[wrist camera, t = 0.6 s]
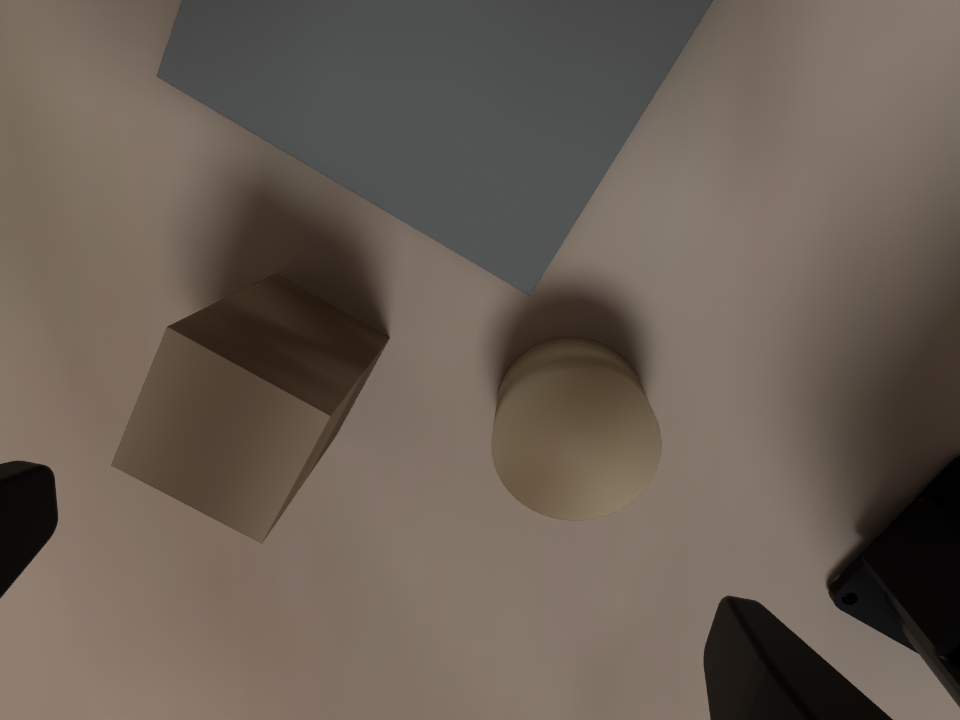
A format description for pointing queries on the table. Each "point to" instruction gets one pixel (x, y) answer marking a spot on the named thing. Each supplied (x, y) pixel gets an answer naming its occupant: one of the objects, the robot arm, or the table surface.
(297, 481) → the walnut block
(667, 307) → the table surface
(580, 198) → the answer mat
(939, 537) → the robot arm
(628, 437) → the beige round knob
